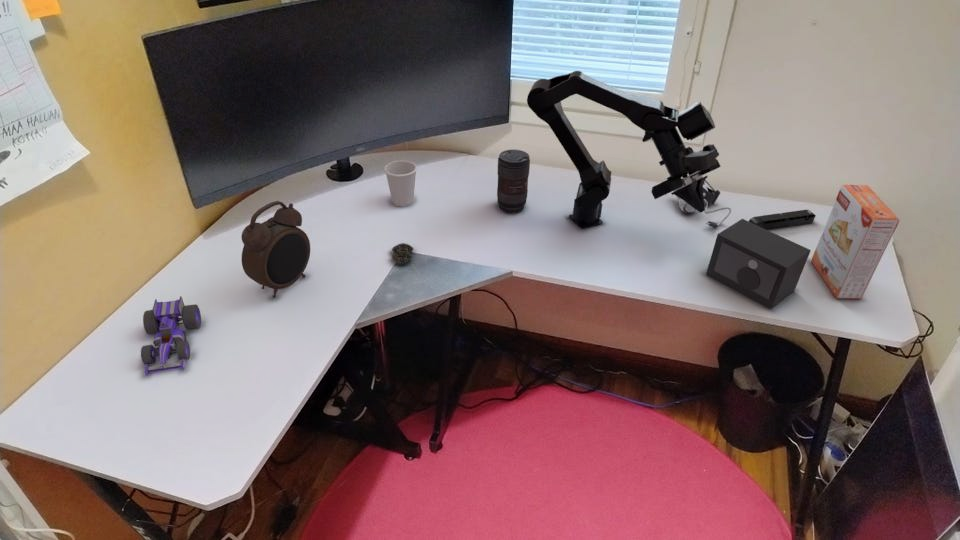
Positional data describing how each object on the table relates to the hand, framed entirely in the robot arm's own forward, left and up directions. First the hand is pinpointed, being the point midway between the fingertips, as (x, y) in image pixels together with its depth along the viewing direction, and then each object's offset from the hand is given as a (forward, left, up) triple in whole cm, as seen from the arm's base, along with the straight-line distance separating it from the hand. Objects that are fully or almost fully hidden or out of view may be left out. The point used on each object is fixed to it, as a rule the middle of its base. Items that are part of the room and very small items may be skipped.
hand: (702, 211), depth 141 cm
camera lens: (-29, +37, -12) cm, 48 cm away
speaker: (+4, -15, -11) cm, 19 cm away
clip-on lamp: (+15, +14, -12) cm, 23 cm away
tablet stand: (+29, 0, -12) cm, 31 cm away
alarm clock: (-90, +29, -12) cm, 95 cm away
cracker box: (+22, -22, -12) cm, 33 cm away
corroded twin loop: (-63, +28, -11) cm, 70 cm away
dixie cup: (-54, +52, -12) cm, 76 cm away
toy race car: (-114, +19, -12) cm, 116 cm away
